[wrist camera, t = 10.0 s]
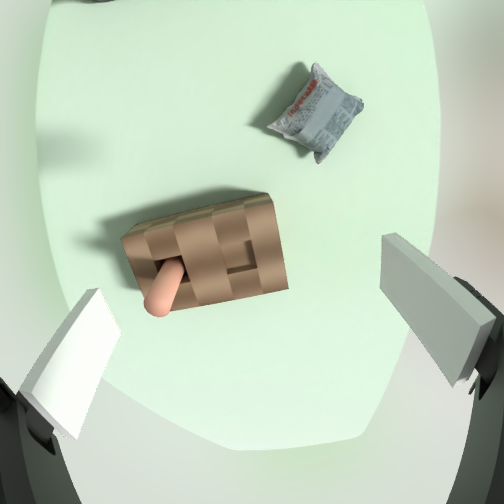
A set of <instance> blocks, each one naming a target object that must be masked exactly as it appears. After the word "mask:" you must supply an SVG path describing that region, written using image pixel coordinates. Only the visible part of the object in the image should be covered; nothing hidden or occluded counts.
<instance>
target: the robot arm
mask: <svg viewBox="0 0 504 504" xmlns="http://www.w3.org/2000/svg"><path fill="white" fill-rule="evenodd" d="M93 1H98V2H105V1H112V0H93ZM380 289H381V290H382V291H383V293H384V294H385V295H386V296H387V298H388V299H389V300H390V301H391V303H392V304H393V305H394V307H395V308H396V309H397V310H398V312H399V313H400V314H401V316H402V317H403V318H404V320H405V321H406V322H407V324H408V325H409V326H410V328H411V329H412V330H413V331H414V333H415V334H416V336H417V337H418V338H419V340H420V341H421V342H422V344H423V345H424V347H425V348H426V349H427V351H428V352H429V354H430V355H431V357H432V358H433V359H434V361H435V362H436V364H437V365H438V367H439V368H440V370H441V371H442V373H443V374H444V376H445V377H446V379H447V380H448V382H449V383H450V385H451V386H452V388H454V387H456V386H458V385H460V384H461V383H463V382H465V381H467V380H468V379H469V378H470V376H471V374H472V372H473V370H474V368H475V369H476V370H477V371H478V373H479V374H478V376H477V378H476V380H475V382H474V383H473V385H472V387H471V389H470V391H469V394H471V393H472V392H473V390H474V388H475V395H474V402H473V408H472V414H471V420H470V425H469V430H468V435H467V440H466V444H465V448H464V452H463V455H462V459H461V463H460V466H459V469H458V473H457V476H456V479H455V482H454V485H453V487H452V490H451V493H450V495H449V498H448V501H447V503H446V504H504V315H503V314H502V313H501V312H500V311H499V310H498V309H497V308H496V307H495V306H494V305H492V304H491V303H490V302H489V301H488V300H487V299H486V298H485V297H484V296H483V297H482V295H481V294H480V293H479V292H478V291H477V290H476V291H475V288H474V287H472V286H471V285H470V284H469V283H468V282H466V281H464V280H462V279H460V278H458V277H451V276H450V275H449V274H448V273H447V272H446V271H444V270H443V269H442V268H441V267H440V266H438V265H437V264H436V263H435V262H433V261H432V260H431V259H430V258H429V257H427V256H426V255H425V254H423V253H422V252H421V251H420V250H418V249H417V248H416V247H414V246H413V245H412V244H410V243H409V242H408V241H406V240H405V239H404V238H402V237H401V236H400V235H398V234H397V233H392V234H387V235H382V253H381V277H380ZM120 335H121V331H120V329H119V327H118V325H117V323H116V322H115V320H114V318H113V316H112V314H111V312H110V310H109V308H108V306H107V303H106V301H105V299H104V297H103V295H102V293H101V291H100V288H95V289H90V290H87V291H86V292H85V294H84V295H83V296H82V297H81V299H80V300H79V301H78V303H77V304H76V305H75V307H74V308H73V309H72V311H71V312H70V313H69V315H68V316H67V317H66V319H65V320H64V321H63V323H62V324H61V326H60V327H59V328H58V330H57V331H56V333H55V334H54V335H53V337H52V338H51V340H50V341H49V343H48V344H47V346H46V348H45V349H44V350H43V352H42V353H41V355H40V356H39V358H38V359H37V361H36V363H35V364H34V366H33V367H32V369H31V371H30V372H29V374H28V375H27V377H26V379H25V380H24V382H23V384H22V385H21V387H20V389H19V391H18V392H17V394H16V395H15V394H14V393H13V392H12V390H11V389H10V388H9V387H8V386H7V384H6V383H5V382H4V381H3V379H1V378H0V504H82V503H81V501H80V499H79V497H78V495H77V492H76V490H75V488H74V485H73V483H72V480H71V478H70V475H69V473H68V470H67V467H66V464H65V461H64V459H63V456H62V453H61V449H60V446H59V443H58V440H57V438H56V436H55V435H54V434H53V430H54V428H55V429H56V430H57V431H58V432H59V433H60V434H61V435H63V437H67V438H71V439H76V440H77V439H78V436H79V433H80V430H81V428H82V425H83V422H84V419H85V417H86V414H87V411H88V409H89V406H90V404H91V401H92V399H93V396H94V393H95V391H96V389H97V386H98V384H99V382H100V379H101V377H102V375H103V372H104V370H105V368H106V365H107V363H108V361H109V359H110V357H111V354H112V352H113V350H114V348H115V346H116V343H117V341H118V339H119V337H120Z"/></svg>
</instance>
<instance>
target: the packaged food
mask: <svg viewBox="0 0 504 504" xmlns="http://www.w3.org/2000/svg"><path fill="white" fill-rule="evenodd" d="M363 107H364V103H362V99H361V98H358V97H356V96H352V95H349V94H347V93H345V92H344V91H343V90H342V89H341V88H340V87H338V86H337V85H336V84H335V83H334V82H333V81H332V80H331V79H330V78H329V77H328V75H327V74H326V73H325V72H324V71H323V69H322V68H321V67H320V66H319V64H318V63H314V64H313V65H312V67H311V72H310V78H309V80H308V81H307V83H306V84H305V85H304V86H303V88H302V89H301V90H300V92H299V93H298V95H297V96H296V99H295V101H294V102H293V104H292V105H290V106H288V107H287V108H286V109H285V111H284V112H283V113H282V114H281V116H280V117H279V118H278V119H277V120H275V121H274V122H272V123H271V124H269V125H268V126H266V127H267V128H269V129H273V130H275V131H277V132H280V133H282V134H284V135H283V136H284V138H285V139H289V140H293V141H295V142H297V143H299V144H301V145H303V146H305V147H307V148H308V149H310V150H311V151H314V158H315V160H316V163H317V164H319V163H320V162H321V161H322V160H323V159H324V158H325V157H326V156H327V155H328V153H329V152H330V151H331V150H332V148H333V147H334V145H335V144H336V143H337V141H338V140H339V138H340V137H341V135H342V134H343V132H344V130H345V129H347V127H348V126H349V125H350V123H351V122H352V120H353V119H354V117H355V116H356V115H357V114H358V113H360V112H361V111H362V110H363Z"/></svg>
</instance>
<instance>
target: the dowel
mask: <svg viewBox="0 0 504 504" xmlns="http://www.w3.org/2000/svg"><path fill="white" fill-rule="evenodd" d="M185 268H186V267H185V264H184V261H183V258H182V255H179V256H174V257H170V258H166V260H165V262H164V264H163V266H162V267H161V269H160V271H159V273H158V275H157V277H156V278H155V280H154V282H153V284H152V286H151V288H150V290H149V291H148V293H147V295H146V297H145V299H144V307H145V309H146V310H147V312H148V313H150V314H151V315H153V316H156V317H163V316H166V315H167V314H168V313H169V311H170V309H171V306H172V303H173V300H174V298H175V295H176V292H177V289H178V287H179V284H180V281H181V279H182V276H183V273H184V271H185Z"/></svg>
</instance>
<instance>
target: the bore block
mask: <svg viewBox="0 0 504 504" xmlns="http://www.w3.org/2000/svg"><path fill="white" fill-rule="evenodd" d="M121 241H122V244H123V247H124V250H125V252H126V255H127V257H128V260H129V263H130V265H131V268H132V270H133V273H134V275H135V278H136V280H137V282H138V285H139V287H140V290H141V292H142V294H143V296H144V299H145V297H146V295H147V293H148V291H149V290H150V288H151V286H152V284H153V282H154V280H155V278H156V277H157V275H158V273H159V271H160V269H161V267H162V266H163V264H164V262H165V260H166V258H170V257H174V256H179V255H182V258H183V261H184V264H185V267H186V268H185V271H184V273H183V276H182V279H181V281H180V284H179V287H178V289H177V292H176V295H175V298H174V300H173V303H172V306H171V309H170V311H176V310H182V309H187V308H193V307H199V306H204V305H210V304H215V303H221V302H226V301H231V300H237V299H242V298H247V297H252V296H257V295H262V294H266V293H271V292H276V291H281V290H285V289H289V288H288V282H287V276H286V270H285V264H284V258H283V253H282V247H281V241H280V236H279V230H278V225H277V220H276V214H275V209H274V204H273V201H272V199H271V198H270V196H269V194H268V193H266V194H261V195H256V196H252V197H247V198H242V199H238V200H233V201H229V202H224V203H220V204H215V205H211V206H207V207H203V208H198V209H194V210H190V211H186V212H182V213H178V214H174V215H170V216H167V217H163V218H159V219H155V220H151V221H148V222H144V223H140V224H137V225H135V226H134V227H133V228H132V229H131V230H129V231H128V232H127V233H126V234H125V235H124V236H123V237H122V238H121Z"/></svg>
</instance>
